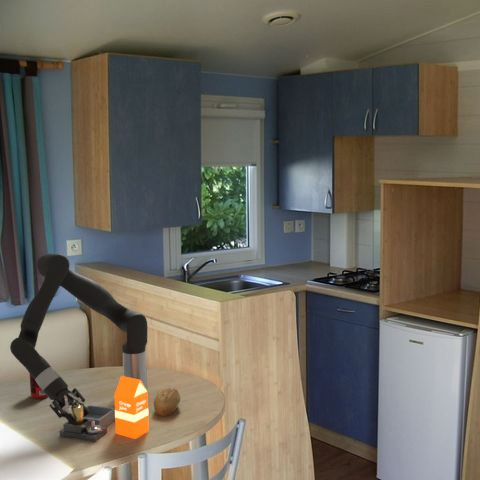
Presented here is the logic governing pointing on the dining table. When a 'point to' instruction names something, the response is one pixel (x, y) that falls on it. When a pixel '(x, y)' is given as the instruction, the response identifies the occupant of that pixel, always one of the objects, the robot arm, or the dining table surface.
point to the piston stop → (78, 414)
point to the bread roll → (166, 401)
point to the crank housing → (83, 431)
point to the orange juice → (131, 408)
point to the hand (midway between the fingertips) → (81, 418)
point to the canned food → (36, 390)
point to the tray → (101, 415)
